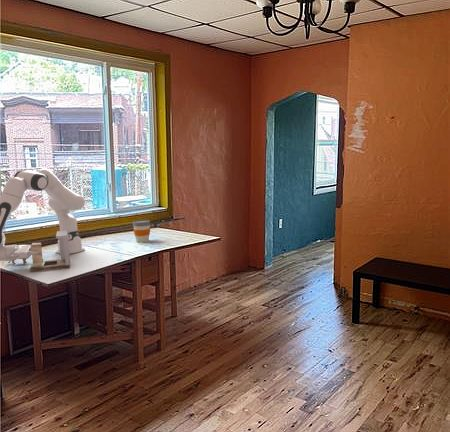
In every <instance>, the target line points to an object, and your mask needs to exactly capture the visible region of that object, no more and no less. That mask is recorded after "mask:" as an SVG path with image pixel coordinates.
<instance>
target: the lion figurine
mask: <svg viewBox="0 0 450 432" xmlns="http://www.w3.org/2000/svg"><path fill="white" fill-rule="evenodd" d="M31 256H32V255H29V257H31ZM29 257H28V258H24V259H22V263H23V265H26V264H28V261H26V260H27V259H29ZM10 263H12V264H14V265H16V264H17V263H16V262H15V260H12V261H7V264H10Z"/></svg>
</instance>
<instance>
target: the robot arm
mask: <svg viewBox="0 0 450 432" xmlns="http://www.w3.org/2000/svg"><path fill="white" fill-rule="evenodd" d="M27 190H30V191H35V192H41V191H44V192H45V193H46V194H47V195H48V196H49V198H48V206H49V208H51V209H52V210H53V211H54V213H55V215H56V216H57V219H58V224H59V231H66V230H67V231H68V243H69V255H70V254H75V253H76V254H77V253H81V252H83V251H86V249H85V247H84V246H83V244H82V238H81V237H80V235H79V230H78V221H77V218H76V216H74V215H73V214H72V211H73V212H75V211H80V210H82V209H83V208H84V206H85V204H86V203H85V202H86V201H85V198H84V196H82V195H81V194H78V193H76V192H74V191H72V190H71V189H70V188H68V187H66V186H65V185H64V184H63V183H62V182H61V180H60V179H59V178H58V177H57V176H56V175H55V174H54V172H52V171H51V170H49V168H45V167H43V168H41V169H39V170H38V171H32V170H26V169H21V170H18V171H16V173H14V175H13V176H11V177H10V178H8V180H7V181H6V184H5V185H4V187H3V189H2V192H1V194H0V262H9V261H10V262H12V260H14V261H17V260H23V259H24V258H28V257H29V255H31V256H32V255H34V254H38V251H32V250H31V244H18V245H17V244H16V243H15V244H9V245H8V244H7V245H5V244H6V235H5V233H4V232H3V230H4V227H5V225H6V222H7V219H8V218H9V216H10V215H11V214H12V213H13V212H15V211H16V210H18V208H19V206H20V205H21V202H22V200H23V197H24V194H25V192H26V191H27ZM55 254H60V242H59V239H58V240H57V249H56V250H55ZM28 259H29V258H28Z"/></svg>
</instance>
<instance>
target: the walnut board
mask: <svg viewBox="0 0 450 432" xmlns="http://www.w3.org/2000/svg"><path fill="white" fill-rule="evenodd" d="M43 262H45V264H44V266H37V267H31V266H30V268H29V269H30V270H29V271H30V273H35V272H44V271H45V272H46V271H56V270H63V269H64V270H65V269H70V268H71V267H70V266H71V258H70V259H69V265H66V263H65V259H64V260H61V258H59V259H49V260H43Z"/></svg>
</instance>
